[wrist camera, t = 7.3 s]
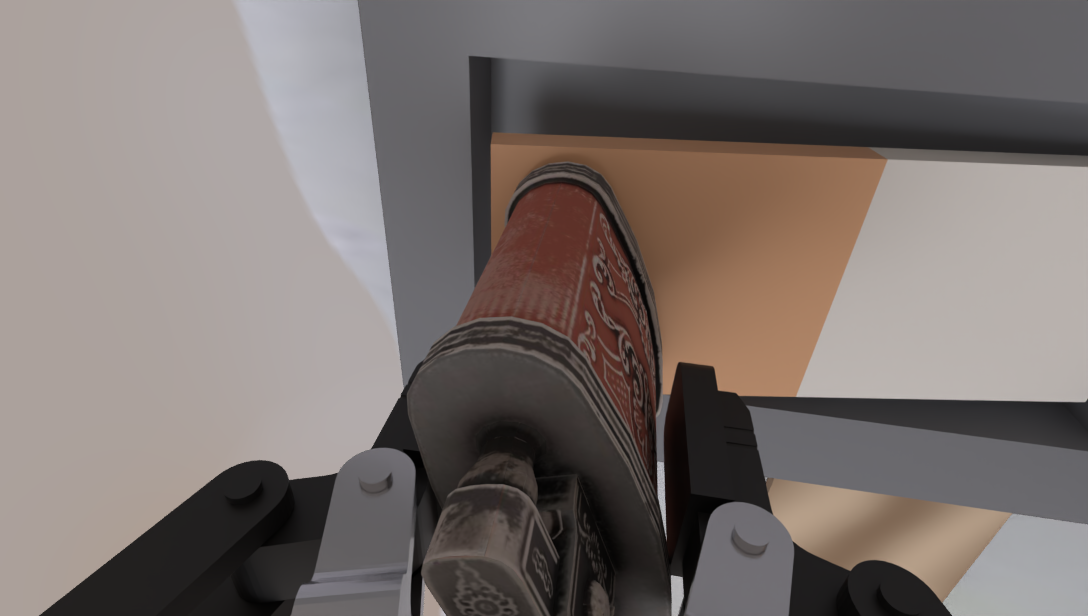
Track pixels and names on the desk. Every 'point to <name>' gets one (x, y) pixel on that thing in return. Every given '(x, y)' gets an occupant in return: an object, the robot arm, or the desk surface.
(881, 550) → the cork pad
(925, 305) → the two-tone tile
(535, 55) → the gray rectangular recessed tray
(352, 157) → the desk surface
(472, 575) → the lighter
